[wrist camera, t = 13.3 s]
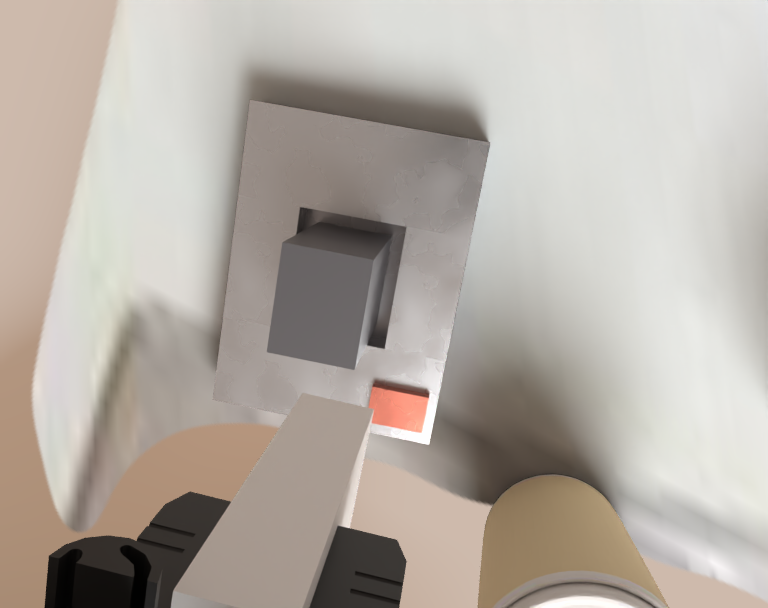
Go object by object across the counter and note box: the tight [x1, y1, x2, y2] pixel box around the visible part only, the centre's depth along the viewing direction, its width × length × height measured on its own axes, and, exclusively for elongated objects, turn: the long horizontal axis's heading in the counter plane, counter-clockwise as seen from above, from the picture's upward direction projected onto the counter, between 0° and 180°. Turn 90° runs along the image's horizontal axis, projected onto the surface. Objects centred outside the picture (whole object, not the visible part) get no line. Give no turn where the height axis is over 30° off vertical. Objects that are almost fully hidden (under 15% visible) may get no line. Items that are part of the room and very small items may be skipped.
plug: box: [267, 222, 392, 370], centre depth 35 cm, size 5×4×8 cm
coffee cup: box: [478, 474, 669, 608], centre depth 36 cm, size 9×9×12 cm
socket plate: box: [213, 100, 490, 445], centre depth 38 cm, size 16×12×3 cm
